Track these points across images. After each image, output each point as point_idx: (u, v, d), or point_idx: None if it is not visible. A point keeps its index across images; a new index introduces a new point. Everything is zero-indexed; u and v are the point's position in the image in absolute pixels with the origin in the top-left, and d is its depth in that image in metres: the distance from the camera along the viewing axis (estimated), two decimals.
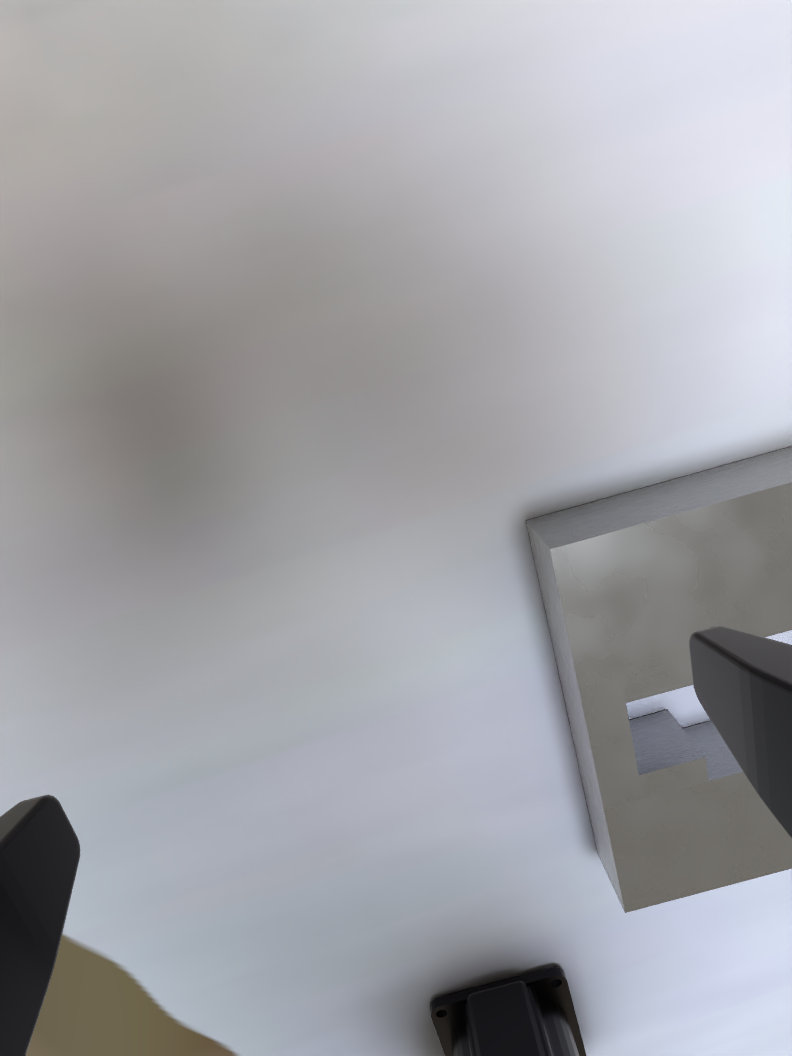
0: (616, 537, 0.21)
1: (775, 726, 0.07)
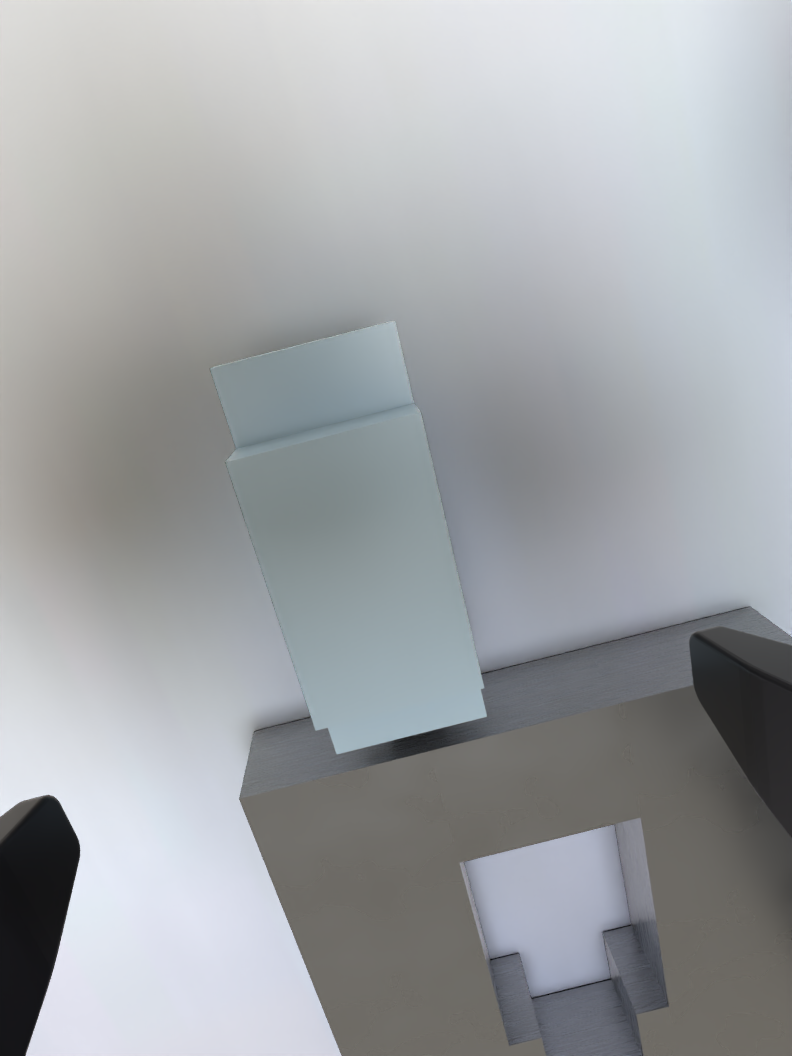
0: None
1: (775, 726, 0.07)
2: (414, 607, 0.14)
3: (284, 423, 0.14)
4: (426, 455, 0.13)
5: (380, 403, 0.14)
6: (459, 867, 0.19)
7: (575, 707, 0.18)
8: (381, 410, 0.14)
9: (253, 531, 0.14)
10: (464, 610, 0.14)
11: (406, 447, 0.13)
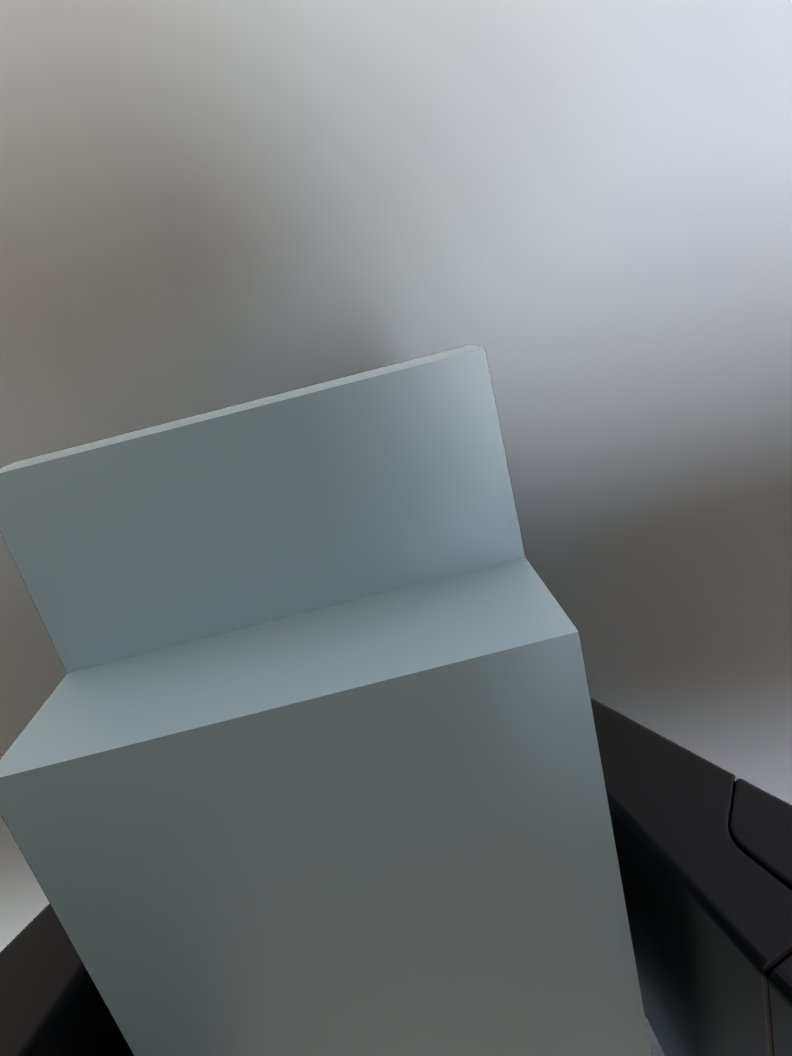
0: None
1: None
2: None
3: (189, 612, 0.05)
4: (586, 746, 0.04)
5: (438, 560, 0.05)
6: None
7: None
8: (440, 577, 0.06)
9: (88, 943, 0.05)
10: None
11: (528, 726, 0.04)
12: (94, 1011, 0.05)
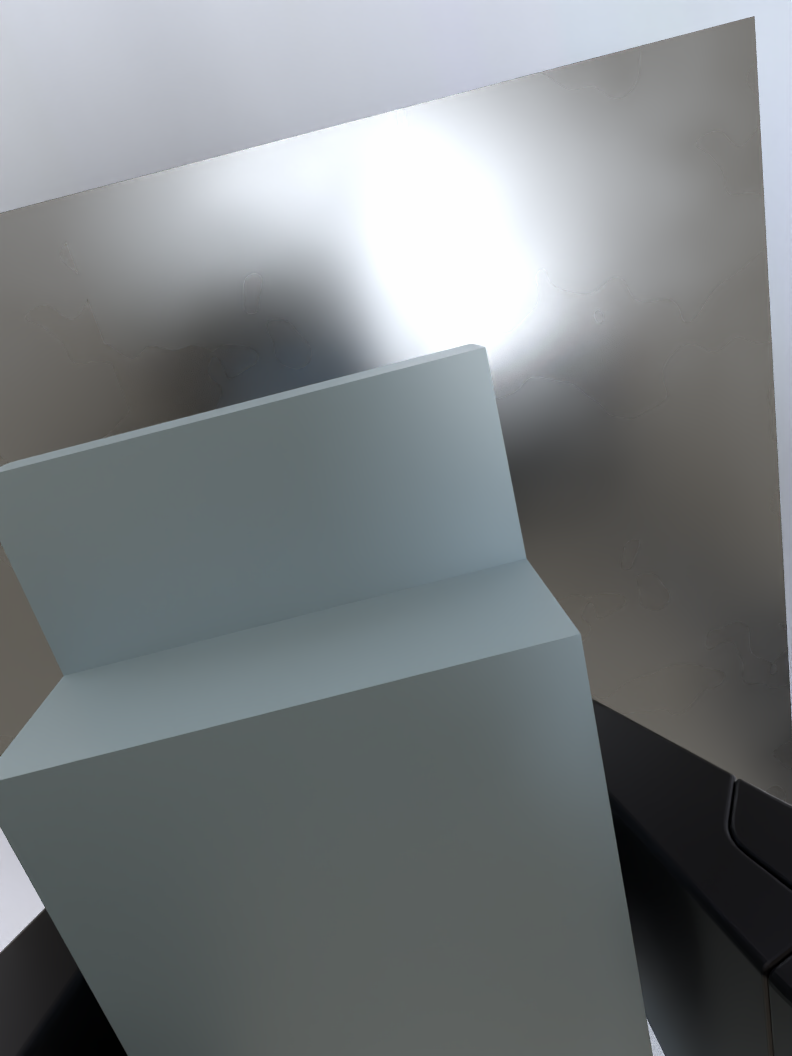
0: None
1: None
2: None
3: (187, 613, 0.05)
4: (587, 749, 0.04)
5: (439, 561, 0.05)
6: None
7: (324, 133, 0.10)
8: (441, 578, 0.06)
9: (84, 948, 0.05)
10: None
11: (529, 729, 0.04)
12: (94, 1011, 0.05)
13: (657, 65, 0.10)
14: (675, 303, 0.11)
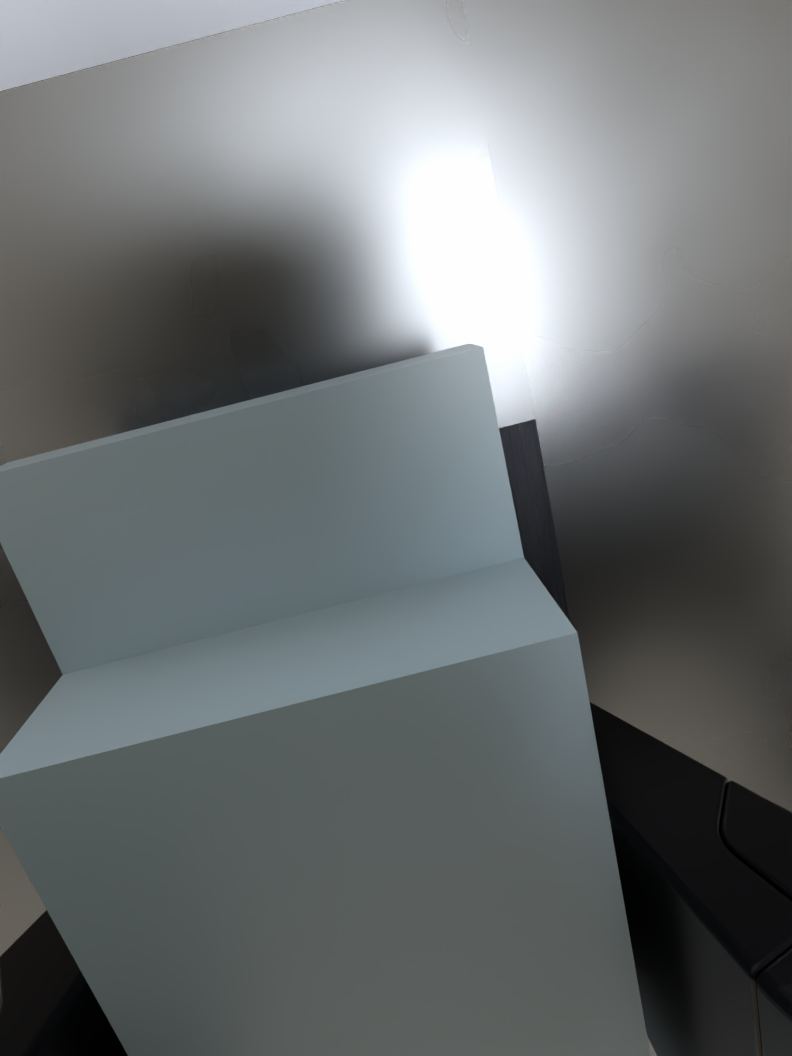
0: None
1: None
2: None
3: (185, 613, 0.05)
4: (584, 748, 0.04)
5: (436, 560, 0.05)
6: None
7: (321, 20, 0.06)
8: (440, 577, 0.06)
9: (83, 946, 0.05)
10: None
11: (526, 727, 0.04)
12: (100, 1010, 0.05)
13: None
14: None
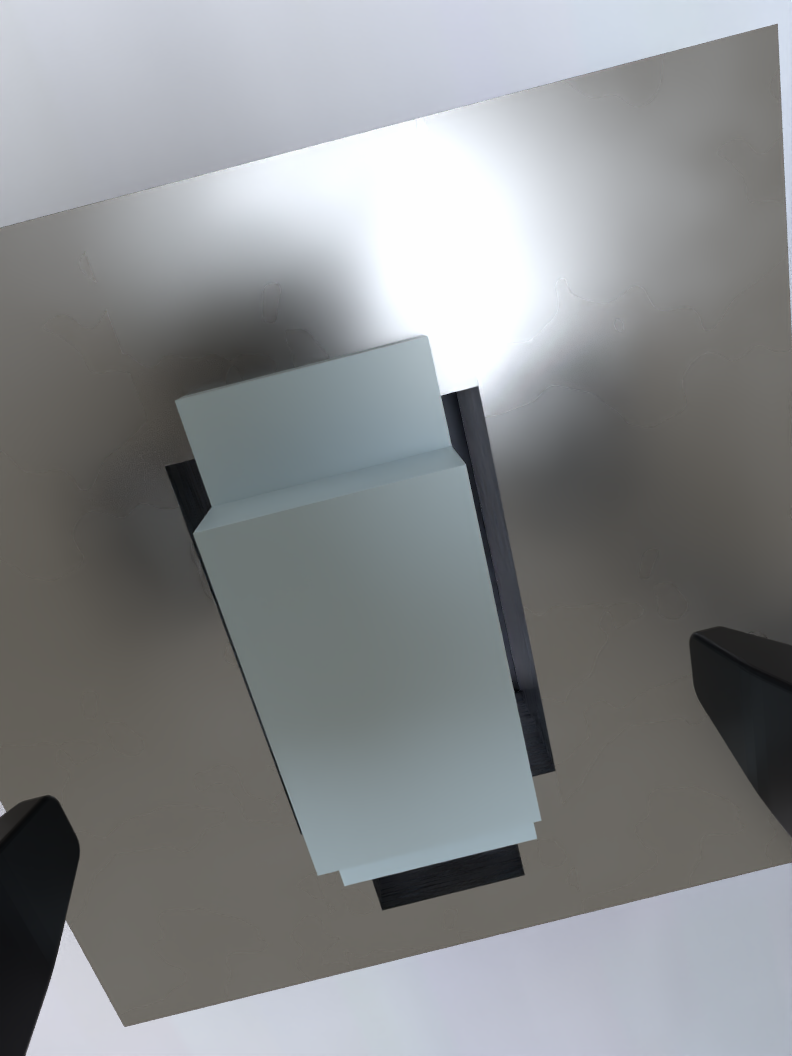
0: (98, 957, 0.14)
1: (775, 726, 0.07)
2: (451, 721, 0.11)
3: (276, 473, 0.11)
4: (472, 522, 0.10)
5: (406, 446, 0.11)
6: (167, 477, 0.11)
7: (343, 142, 0.10)
8: (407, 456, 0.11)
9: (233, 624, 0.10)
10: (518, 723, 0.11)
11: (444, 512, 0.10)
12: None
13: (679, 73, 0.10)
14: (696, 312, 0.11)
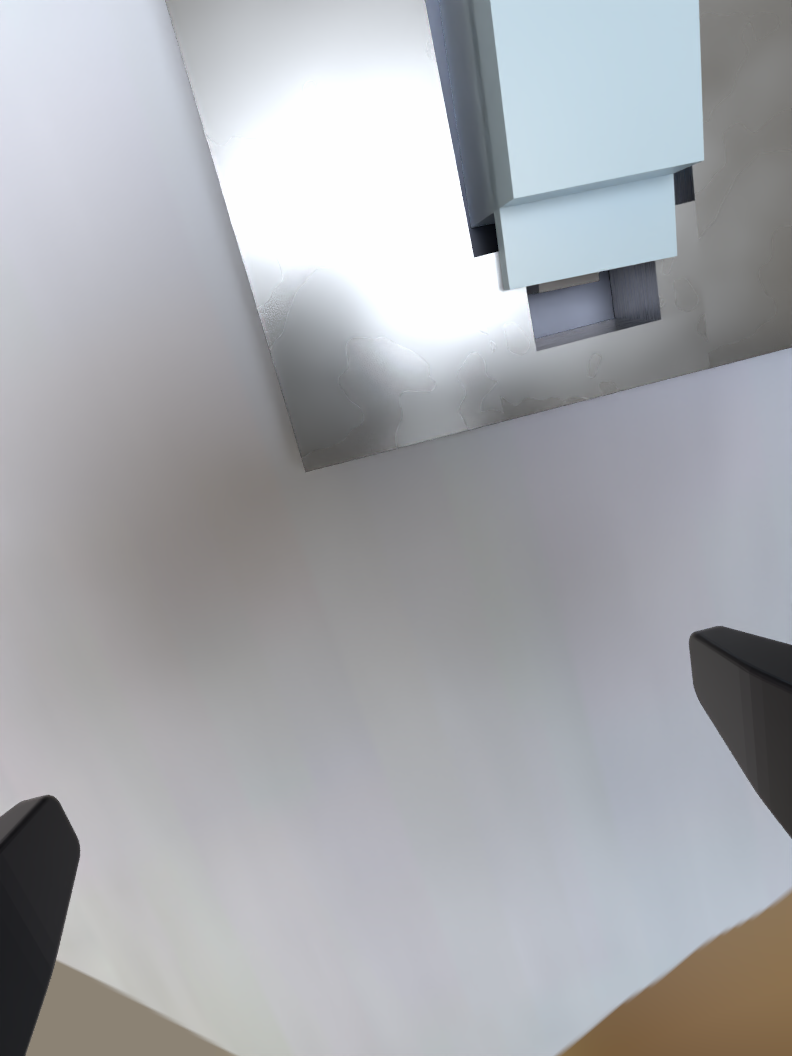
0: (290, 387, 0.16)
1: (775, 726, 0.07)
2: (645, 34, 0.13)
3: None
4: None
5: None
6: None
7: None
8: None
9: None
10: (698, 45, 0.13)
11: None
12: None
13: None
14: None
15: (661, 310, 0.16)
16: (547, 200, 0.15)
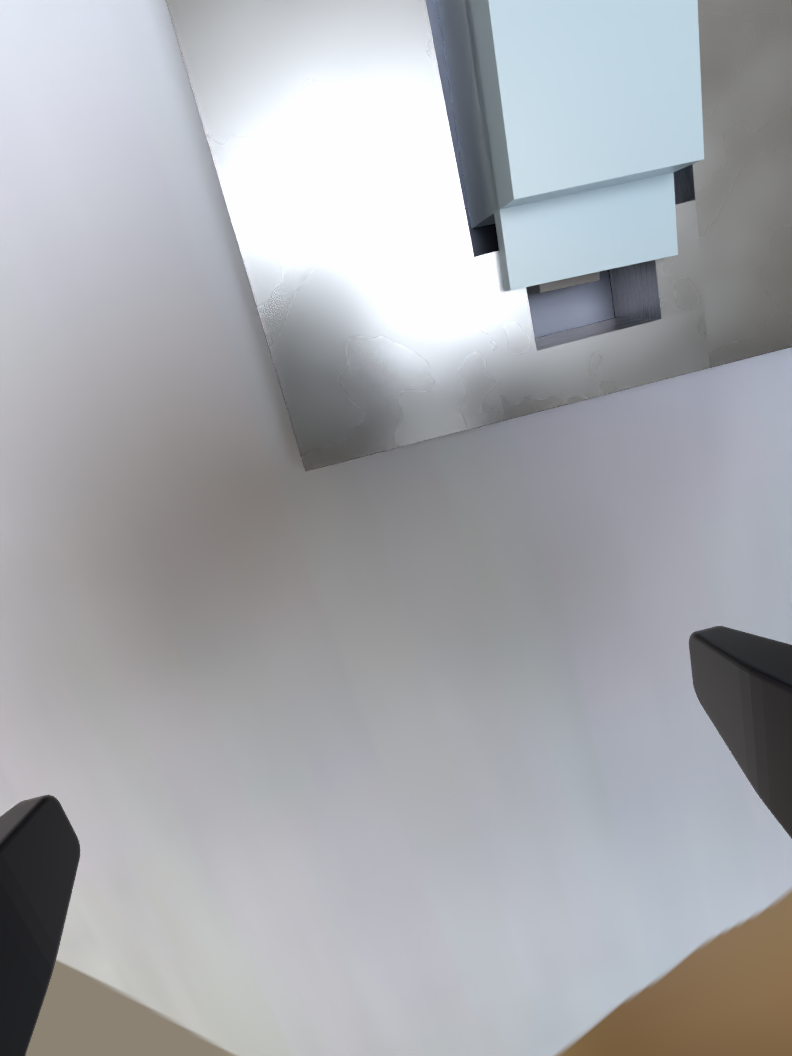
0: (290, 387, 0.16)
1: (775, 726, 0.07)
2: (644, 33, 0.13)
3: None
4: None
5: None
6: None
7: None
8: None
9: None
10: (696, 44, 0.13)
11: None
12: None
13: None
14: None
15: (661, 309, 0.16)
16: (547, 200, 0.15)
